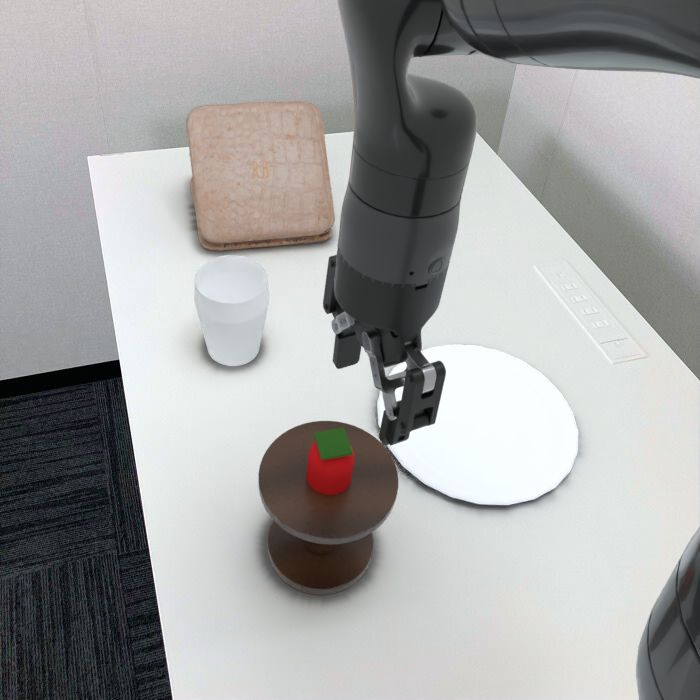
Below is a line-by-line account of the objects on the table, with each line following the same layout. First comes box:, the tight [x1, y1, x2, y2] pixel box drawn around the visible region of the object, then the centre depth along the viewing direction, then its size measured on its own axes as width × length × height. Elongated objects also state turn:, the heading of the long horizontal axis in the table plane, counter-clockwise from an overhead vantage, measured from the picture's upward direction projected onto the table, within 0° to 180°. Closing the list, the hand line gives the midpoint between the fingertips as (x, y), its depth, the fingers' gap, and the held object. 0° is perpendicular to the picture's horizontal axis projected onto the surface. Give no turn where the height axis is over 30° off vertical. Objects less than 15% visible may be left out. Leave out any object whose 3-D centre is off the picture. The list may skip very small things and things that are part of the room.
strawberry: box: [306, 428, 355, 495], centre depth 66 cm, size 4×4×5 cm
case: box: [185, 100, 336, 252], centre depth 111 cm, size 20×21×16 cm
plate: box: [376, 343, 579, 507], centre depth 91 cm, size 25×25×1 cm
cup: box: [193, 254, 270, 367], centre depth 92 cm, size 9×9×12 cm
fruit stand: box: [258, 420, 399, 596], centre depth 73 cm, size 13×13×13 cm
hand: (368, 400), depth 60 cm, fingers open, 8 cm apart
